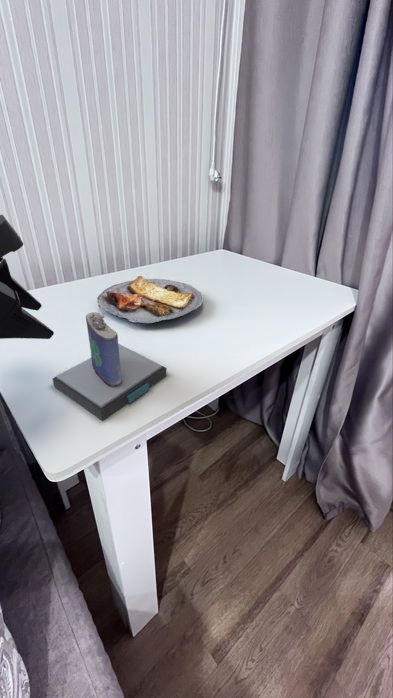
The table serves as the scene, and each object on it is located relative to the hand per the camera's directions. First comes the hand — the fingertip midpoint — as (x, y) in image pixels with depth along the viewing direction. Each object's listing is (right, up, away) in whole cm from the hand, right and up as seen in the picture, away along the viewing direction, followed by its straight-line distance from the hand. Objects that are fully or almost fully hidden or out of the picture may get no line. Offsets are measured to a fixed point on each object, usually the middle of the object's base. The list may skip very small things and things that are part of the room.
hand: (45, 320), depth 47 cm
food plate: (+10, +7, +35) cm, 37 cm away
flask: (+6, -8, +8) cm, 13 cm away
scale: (+7, -9, +9) cm, 15 cm away
